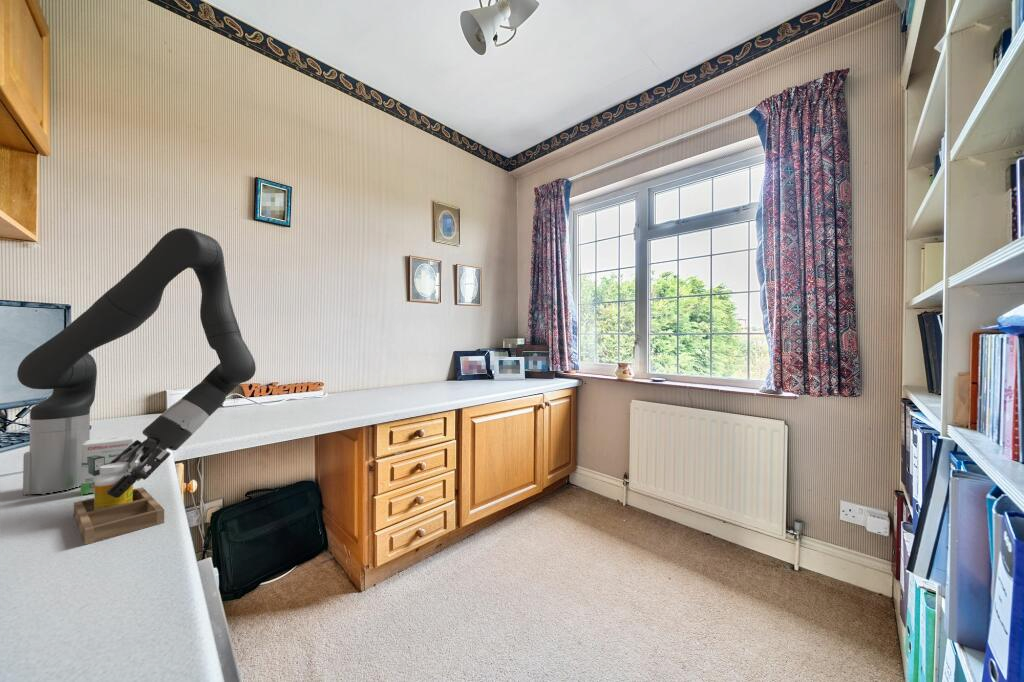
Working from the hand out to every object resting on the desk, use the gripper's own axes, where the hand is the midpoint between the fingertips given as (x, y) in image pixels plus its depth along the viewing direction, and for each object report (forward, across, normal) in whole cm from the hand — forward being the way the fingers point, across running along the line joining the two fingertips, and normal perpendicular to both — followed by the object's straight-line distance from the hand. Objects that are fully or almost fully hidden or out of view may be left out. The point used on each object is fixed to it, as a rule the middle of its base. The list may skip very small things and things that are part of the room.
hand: (104, 491), depth 75 cm
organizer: (+3, +5, +4) cm, 7 cm away
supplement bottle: (+3, 0, +4) cm, 5 cm away
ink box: (0, -20, +7) cm, 21 cm away
